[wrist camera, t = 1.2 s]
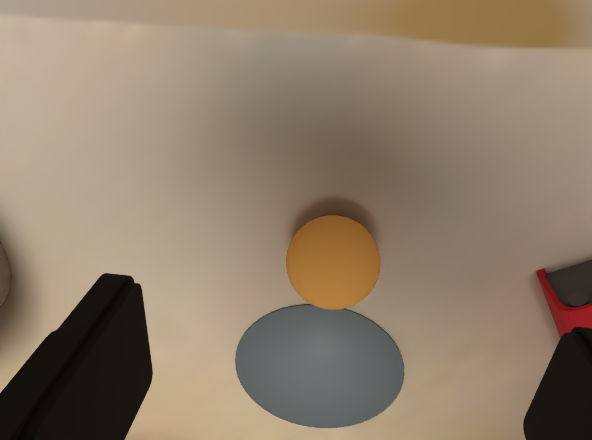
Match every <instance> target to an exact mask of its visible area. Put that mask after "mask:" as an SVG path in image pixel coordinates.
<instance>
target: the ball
mask: <svg viewBox="0 0 592 440" xmlns="http://www.w3.org/2000/svg"><path fill="white" fill-rule="evenodd" d="M286 267H287V274H288V277H289V280H290V282H291V284H292V286H293V287H294V289H295V290H296V292H297V293H298V294H299V295H300V296H301V297H302V298H303V299H304V300H306V301H307V302H309V303H310V304H312V305H314V306H316V307H319V308H323V309H329V310H338V309H344V308H348V307H351V306H353V305H355V304H357V303H359V302H360V301H362V300H363V299H364V298H365V297H366V296H367V295H368V294H369V293H370V292H371V290H372V289H373V287H374V286H375V284H376V282H377V279H378V276H379V272H380V254H379V250H378V247H377V244H376V242H375V240H374V238H373V237H372V235H371V234H370V233H369V232H368V230H367V229H366V228H365V227H363V226H362V225H361V224H360V223H358V222H356V221H354V220H352V219H350V218H347V217H343V216H336V215H330V216H323V217H319V218H316V219H314V220H312V221H310V222H308V223H307V224H305V225H304V226H303V227H302V228H300V229H299V231H298V232H297V233H296V234H295V236H294V237H293V239H292V240H291V242H290V245H289V248H288V251H287V257H286Z"/></svg>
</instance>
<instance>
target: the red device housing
mask: <svg viewBox="0 0 592 440" xmlns="http://www.w3.org/2000/svg"><path fill="white" fill-rule="evenodd" d="M537 275H538V278H539V281H540V283H541V286H542V289H543V291H544V294H545V297H546V299H547V302H548V305H549V307H550V310H551V313H552V315H553V318H554V321H555V323H556V326H557V329H558V332H559V334H560V337H562V335H563V334H564V333H570V332H571V330H572V329H573V328H575V327H586V328H592V260H590V261H587V262H584V263H581V264H578V265H575V266H572V267H569V268H566V269H563V270H559V271H556V272H553V273H550V274H547V273H546V271H545V268H543V269H540V270H537Z"/></svg>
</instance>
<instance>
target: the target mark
mask: <svg viewBox="0 0 592 440" xmlns="http://www.w3.org/2000/svg"><path fill="white" fill-rule="evenodd" d="M235 363H236V371H237V375H238V378H239V380H240V383H241V385H242V386H243V388H244V390H245V391H246V392H247V394H248V395H249V396H250V397H251V398H252V399H253V400H254V401H255V402H256V403H257V404H258V405H259V406H261V407H262V408H263V409H265V410H266V411H268V412H270V413H271V414H273V415H275V416H277V417H279V418H281V419H284V420H286V421H289V422H292V423H295V424H299V425H303V426H309V427H317V428H337V427H345V426H351V425H355V424H358V423H361V422H364V421H367V420H369V419H371V418H373V417H375V416H377V415H378V414H380V413H381V412H383V411H384V410H385V409H386V408H387V407H389V406H390V405H391V404H392V402H393V401H394V400H395V399H396V397H397V395H398V394H399V392H400V390H401V387H402V384H403V379H404V365H403V360H402V356H401V354H400V351H399V349H398V347H397V346H396V344H395V342H394V341H393V340H392V338H391V337H390V336H389V335H388V334H387V333H386V332H385V331H384V330H383V329H382V328H381V327H380V326H378V325H377V324H376V323H374V322H373V321H371V320H369V319H368V318H366V317H364V316H362V315H360V314H358V313H355V312H353V311H350V310H347V309H338V310H329V309H323V308H319V307H316V306H314V305H312V304H308V305H297V306H291V307H287V308H283V309H279V310H277V311H274V312H272V313H270V314H268V315H266V316H264V317H262V318H261V319H259V320H258V321H256V322H255V323H254V324H253V325H252V326H251V327H250V328H249V329H248V330H247V331H246V332H245V334H244V335H243V337H242V339H241V341H240V343H239V345H238V349H237V352H236V359H235Z"/></svg>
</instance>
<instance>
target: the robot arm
mask: <svg viewBox="0 0 592 440" xmlns="http://www.w3.org/2000/svg"><path fill="white" fill-rule="evenodd" d="M152 374H153V371H152V363H151V355H150V348H149V340H148V333H147V325H146V318H145V310H144V302H143V295H142V288H141V285H140V284H138V283H134V279H133V278H132V277H131V276H127V275H118V274H109V273H105V274H103V275H101V276H100V277H99V279H98V280H97V281H96V282H95V284H94V285H93V286H92V287H91V289H90V290H89V291H88V292H87V294H86V295H85V296H84V297H83V299H82V300H81V301H80V302H79V303H78V305H77V306H76V307H75V308H74V310H73V311H72V312H71V313H70V315H69V316H68V317H67V318H66V320H65V321H64V322H63V323H62V325H61V326H60V327H59V328H58V330H55V331H53V332H51V333H50V334H49V335H48V336H47V337H46V338H45V339H44V341H43V342H42V343H41V344H40V345H39V347H38V348H37V349H36V350H35V352H34V353H33V354H32V355H31V356H30V358H29V359H28V360H27V361H26V363H25V364H24V365H23V366H22V367H21V369H20V370H19V371H18V372H17V374H16V375H15V376H14V377H13V378H12V380H11V381H10V382H9V383H8V385H7V386H6V387H5V388H4V389H3V391H2V392H1V393H0V440H124V439H125V437H126V435H127V433H128V431H129V429H130V427H131V425H132V423H133V421H134V419H135V416H136V414H137V412H138V410H139V408H140V406H141V404H142V402H143V400H144V398H145V396H146V394H147V391H148V389H149V387H150V384H151V381H152ZM523 426H524V434H525V438H526V440H592V328H586V327H575V328H573V329H572V330H571V332H570V333H564V334H563V335H562V337H561V339H560V341H559V343H558V345H557V348H556V350H555V352H554V354H553V356H552V359H551V361H550V363H549V365H548V367H547V369H546V372H545V374H544V376H543V378H542V380H541V383H540V385H539V387H538V389H537V391H536V394H535V396H534V398H533V400H532V402H531V405H530V407H529V409H528V411H527V413H526V416H525V418H524V424H523Z"/></svg>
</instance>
